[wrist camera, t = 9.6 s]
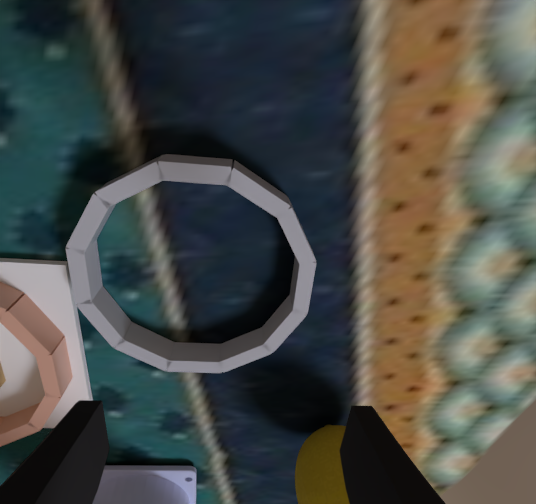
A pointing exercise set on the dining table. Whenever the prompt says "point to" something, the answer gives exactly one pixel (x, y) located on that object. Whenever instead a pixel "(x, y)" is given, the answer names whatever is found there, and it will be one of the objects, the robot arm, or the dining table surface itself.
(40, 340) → the ring
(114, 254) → the dining table surface
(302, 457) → the lemon
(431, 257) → the dining table surface
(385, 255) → the dining table surface
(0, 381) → the ochre block
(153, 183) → the ring
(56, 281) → the card
